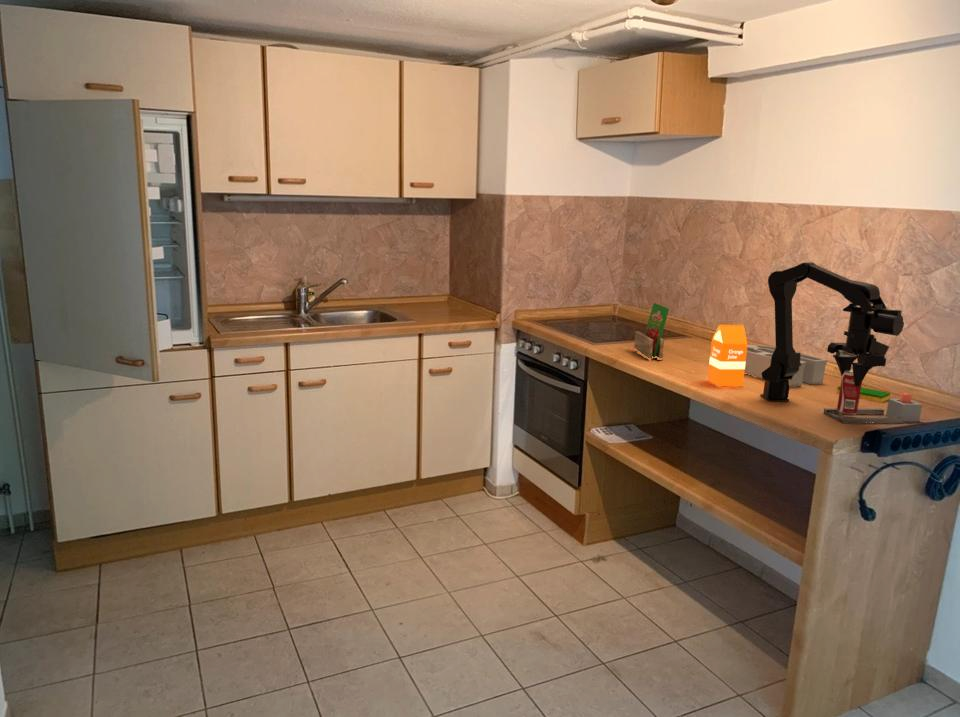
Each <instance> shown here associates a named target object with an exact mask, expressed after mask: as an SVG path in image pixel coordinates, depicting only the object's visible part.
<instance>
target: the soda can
mask: <svg viewBox="0 0 960 717" xmlns="http://www.w3.org/2000/svg"><path fill="white" fill-rule="evenodd" d="M862 383H863V382H862ZM862 383H861V384H860V386H859V387H856V386H855V383H854V375H853V369H851V370H845V371H844V373H843V375H842V376H841V380H840V393H839V394H838V400H837V407H836V409H837V411H838V412H839V413H841V414H845V415H846V416H857V415H856V413H857V411H858V409H859V402H860V399H861V398H860V392H861V387H862V386H863V384H862Z"/></svg>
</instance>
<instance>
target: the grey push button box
mask: <svg viewBox="0 0 960 717" xmlns="http://www.w3.org/2000/svg"><path fill="white" fill-rule="evenodd" d="M887 401H888V402H887V406H886V407H887V409H886V416H887V415H888V416H887V417H889V416H890V417H901V418H903V422H920V421H921V413H922V408H923V404H921V403H920V402H916V401H915V400H912V399H911V403H902V402H900V398H889V400H887Z"/></svg>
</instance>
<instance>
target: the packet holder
mask: <svg viewBox="0 0 960 717" xmlns="http://www.w3.org/2000/svg"><path fill="white" fill-rule="evenodd" d="M644 334H645V333H642V332H641V331H639V330H637V331H635V333H634V346H633V349H634V348H636V349H637V350H638V351H640V352H641V353H642V354H644V355H645V356H647V357H648V358H652V349H653V339H651V338H649V337H647V336H646V335H644ZM664 346H665V340H664V338H661V339H660V343H659V346H658V349H657V353H656V356H657V357H659V358H662V359H663V356H664Z"/></svg>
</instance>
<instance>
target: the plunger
mask: <svg viewBox="0 0 960 717" xmlns="http://www.w3.org/2000/svg"><path fill="white" fill-rule="evenodd" d="M912 398H913V394H912V393H909V392H901V393H900V398H899V399H900V402H902V403H911V400H912Z"/></svg>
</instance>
